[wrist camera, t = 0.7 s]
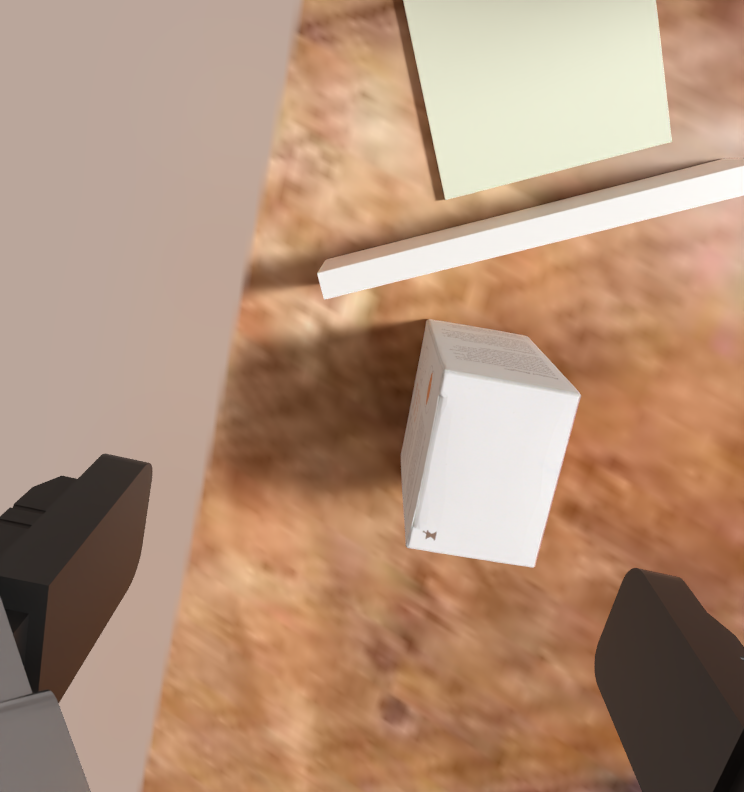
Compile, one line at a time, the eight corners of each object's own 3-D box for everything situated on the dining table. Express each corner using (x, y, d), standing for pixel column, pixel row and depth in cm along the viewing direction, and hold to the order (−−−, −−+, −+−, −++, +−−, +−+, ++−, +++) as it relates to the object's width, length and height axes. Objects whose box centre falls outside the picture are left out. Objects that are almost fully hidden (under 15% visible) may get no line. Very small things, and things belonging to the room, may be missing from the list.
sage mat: (632, -173, 30) (635, -177, 29) (668, 142, 34) (671, 141, 33) (382, -99, 31) (381, -102, 30) (444, 199, 35) (445, 200, 34)
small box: (496, 471, 39) (536, 575, 29) (397, 455, 39) (403, 553, 29) (530, 333, 37) (587, 393, 27) (425, 314, 36) (442, 369, 26)
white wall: (724, 158, 34) (780, 156, 29) (726, 183, 34) (782, 185, 29) (325, 259, 36) (317, 273, 31) (331, 282, 36) (324, 299, 31)
